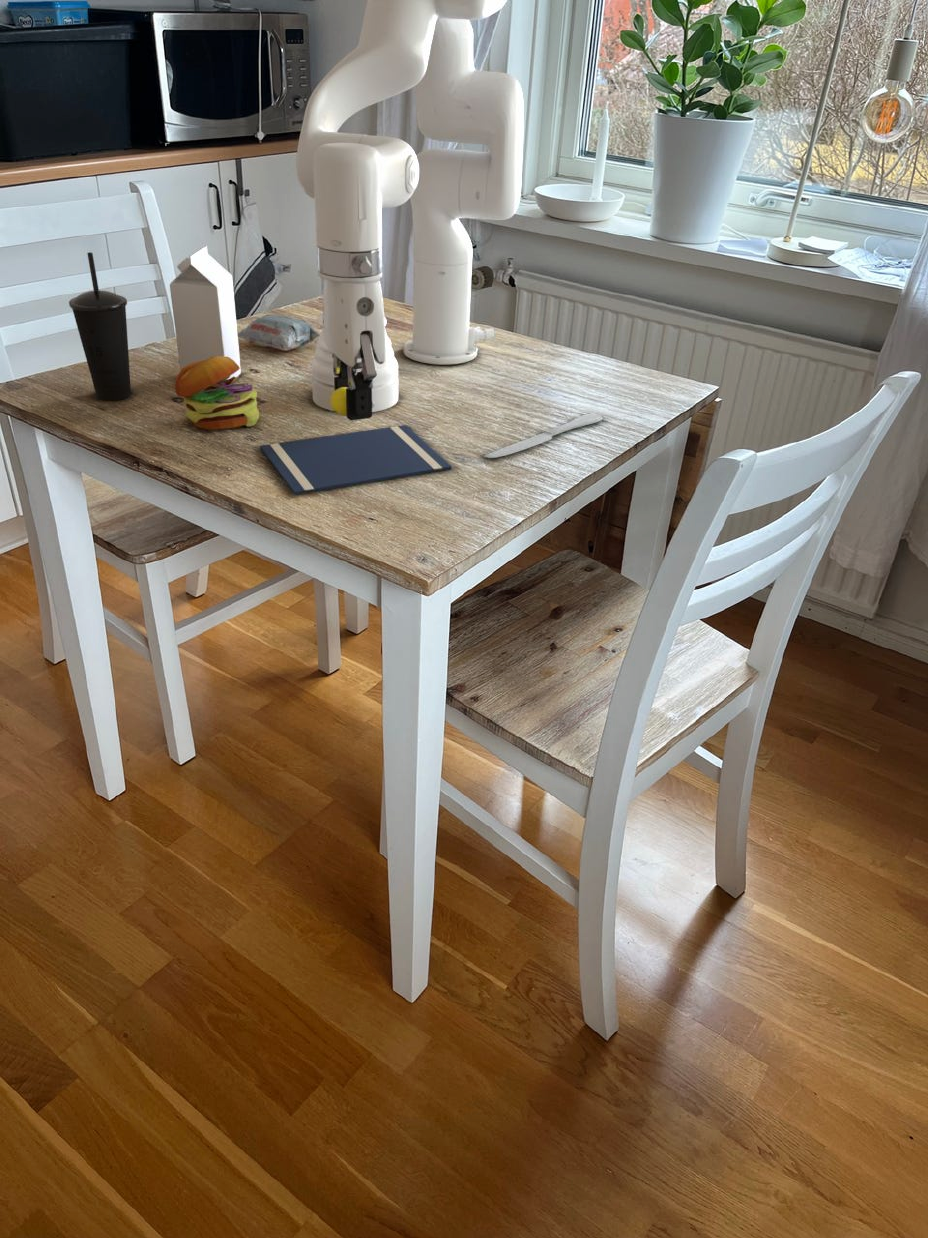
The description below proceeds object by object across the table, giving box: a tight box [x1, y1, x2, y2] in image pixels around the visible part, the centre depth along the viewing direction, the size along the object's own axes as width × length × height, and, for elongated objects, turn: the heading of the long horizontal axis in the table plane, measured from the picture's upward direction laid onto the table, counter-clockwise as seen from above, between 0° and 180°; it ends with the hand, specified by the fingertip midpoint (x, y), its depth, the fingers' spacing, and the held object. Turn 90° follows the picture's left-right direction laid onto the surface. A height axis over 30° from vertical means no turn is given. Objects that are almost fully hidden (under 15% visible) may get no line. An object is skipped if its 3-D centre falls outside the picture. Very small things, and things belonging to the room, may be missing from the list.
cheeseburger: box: [174, 356, 260, 431], centre depth 130 cm, size 10×11×10 cm
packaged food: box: [237, 314, 321, 352], centre depth 159 cm, size 9×12×5 cm
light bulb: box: [330, 387, 374, 417], centre depth 119 cm, size 3×6×4 cm, turn 123°
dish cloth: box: [259, 424, 452, 496], centre depth 123 cm, size 21×15×1 cm
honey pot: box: [310, 313, 399, 413], centre depth 137 cm, size 13×13×18 cm
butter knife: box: [483, 412, 603, 459], centre depth 132 cm, size 1×24×3 cm
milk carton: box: [169, 245, 242, 380], centre depth 141 cm, size 7×7×19 cm
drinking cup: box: [68, 251, 132, 402], centre depth 133 cm, size 8×8×20 cm
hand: (353, 410), depth 120 cm, fingers closed on light bulb, 3 cm apart
